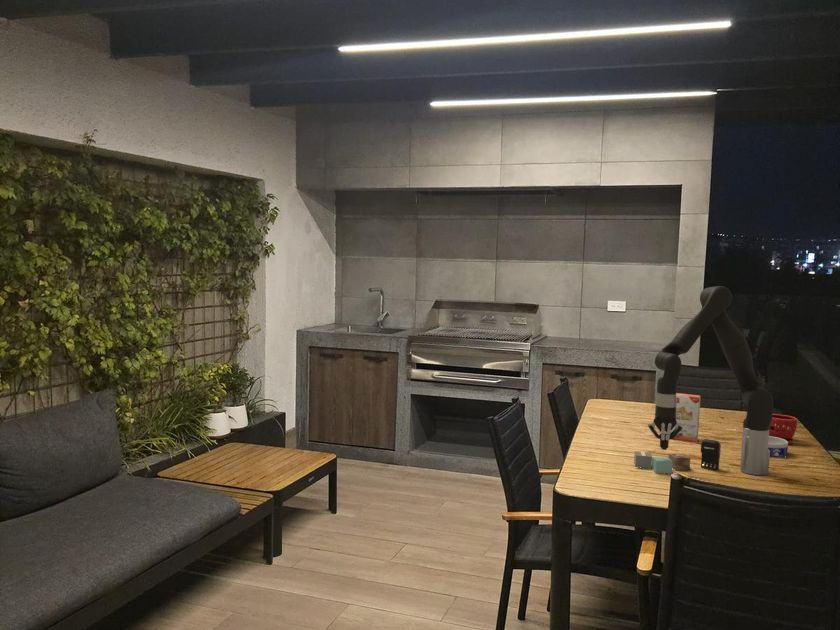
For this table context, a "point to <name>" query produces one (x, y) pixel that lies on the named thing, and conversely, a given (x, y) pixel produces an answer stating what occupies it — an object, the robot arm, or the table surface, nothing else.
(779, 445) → the dog bowl
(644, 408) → the table surface
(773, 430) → the plant pot
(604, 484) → the table surface
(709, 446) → the battery
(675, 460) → the dot block
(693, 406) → the cracker box
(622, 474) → the table surface
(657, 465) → the plain block
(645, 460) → the stripe block
